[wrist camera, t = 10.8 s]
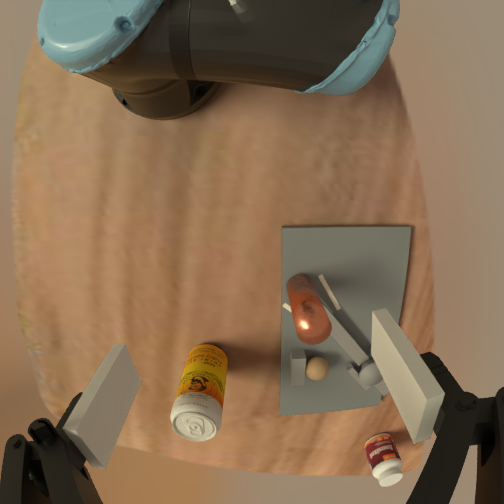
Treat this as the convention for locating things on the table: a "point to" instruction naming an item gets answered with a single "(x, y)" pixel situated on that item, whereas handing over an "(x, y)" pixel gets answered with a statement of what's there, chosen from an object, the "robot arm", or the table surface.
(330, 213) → the table surface
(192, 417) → the beer can
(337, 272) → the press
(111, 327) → the table surface
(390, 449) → the pill bottle
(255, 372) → the table surface
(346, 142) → the table surface
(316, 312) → the lever
